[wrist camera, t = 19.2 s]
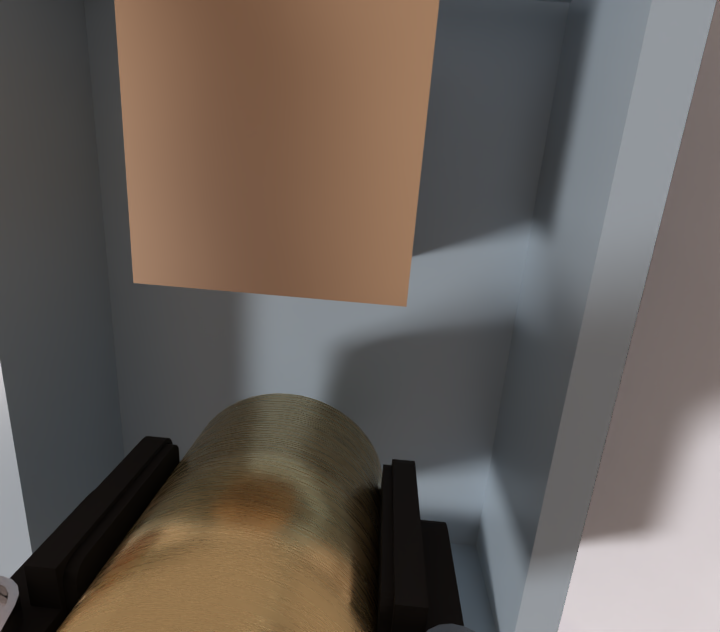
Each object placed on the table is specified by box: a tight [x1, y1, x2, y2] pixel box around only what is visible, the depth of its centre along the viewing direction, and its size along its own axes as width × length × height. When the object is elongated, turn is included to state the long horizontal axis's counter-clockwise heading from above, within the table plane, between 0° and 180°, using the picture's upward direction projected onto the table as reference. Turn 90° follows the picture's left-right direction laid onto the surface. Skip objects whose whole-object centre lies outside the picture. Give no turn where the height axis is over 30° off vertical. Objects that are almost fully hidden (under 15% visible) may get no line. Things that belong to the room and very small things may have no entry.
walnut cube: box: [114, 0, 439, 307], centre depth 10 cm, size 5×5×5 cm
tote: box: [0, 0, 717, 632], centre depth 12 cm, size 14×18×5 cm
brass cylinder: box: [56, 393, 382, 632], centre depth 9 cm, size 5×5×7 cm
